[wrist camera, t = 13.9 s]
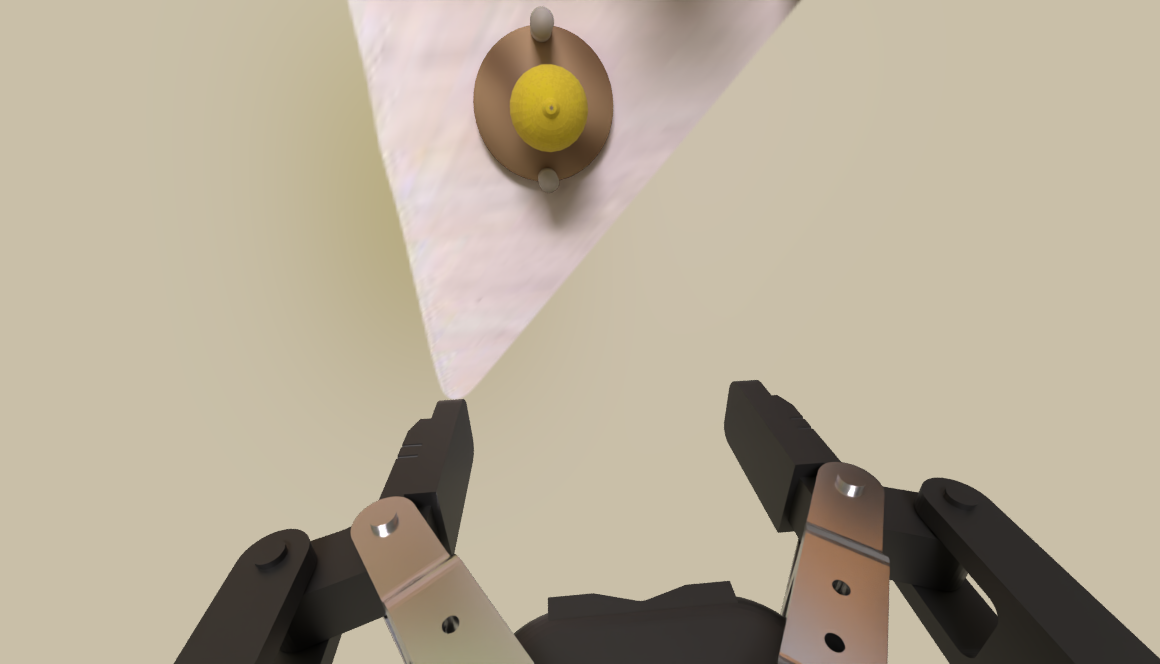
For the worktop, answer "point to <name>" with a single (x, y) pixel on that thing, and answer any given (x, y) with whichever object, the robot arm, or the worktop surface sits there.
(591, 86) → the pin dish
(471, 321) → the worktop surface
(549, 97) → the lemon
